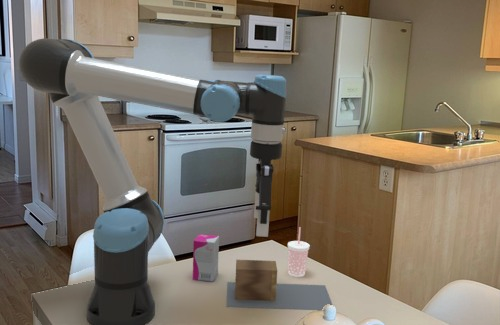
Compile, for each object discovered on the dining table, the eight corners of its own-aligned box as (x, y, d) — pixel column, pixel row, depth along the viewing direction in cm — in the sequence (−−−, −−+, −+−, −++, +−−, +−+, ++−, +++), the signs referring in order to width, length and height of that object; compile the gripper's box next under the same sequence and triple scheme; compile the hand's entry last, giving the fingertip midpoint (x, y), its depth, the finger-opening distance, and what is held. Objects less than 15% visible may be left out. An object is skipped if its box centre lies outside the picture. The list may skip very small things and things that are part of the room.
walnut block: (234, 299, 128) (236, 269, 126) (235, 288, 134) (236, 259, 132) (275, 300, 128) (277, 270, 127) (273, 290, 134) (275, 261, 132)
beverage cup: (290, 268, 149) (293, 222, 147) (310, 273, 147) (314, 226, 144) (282, 276, 144) (285, 228, 141) (303, 281, 141) (306, 232, 139)
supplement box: (218, 275, 143) (219, 235, 140) (213, 284, 137) (214, 242, 135) (198, 272, 144) (199, 233, 141) (191, 281, 138) (193, 240, 136)
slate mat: (226, 309, 124) (226, 307, 124) (227, 283, 138) (227, 281, 138) (334, 312, 125) (334, 310, 125) (324, 287, 139) (325, 285, 138)
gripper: (287, 151, 111) (280, 245, 115) (277, 134, 136) (272, 212, 140) (252, 149, 111) (246, 243, 115) (249, 132, 135) (244, 210, 140)
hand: (260, 226), depth 128 cm, fingers open, 13 cm apart
